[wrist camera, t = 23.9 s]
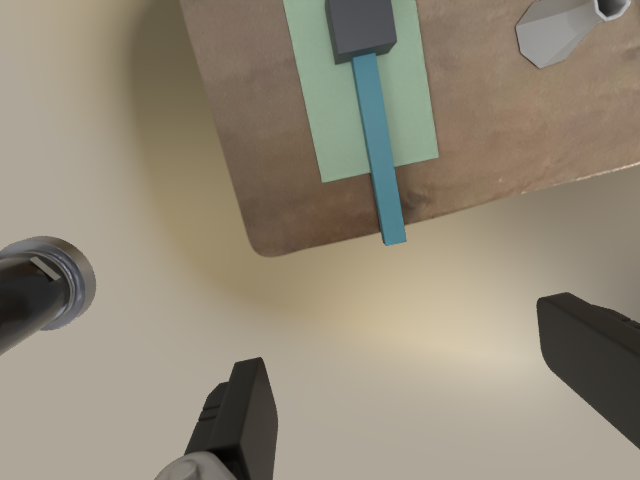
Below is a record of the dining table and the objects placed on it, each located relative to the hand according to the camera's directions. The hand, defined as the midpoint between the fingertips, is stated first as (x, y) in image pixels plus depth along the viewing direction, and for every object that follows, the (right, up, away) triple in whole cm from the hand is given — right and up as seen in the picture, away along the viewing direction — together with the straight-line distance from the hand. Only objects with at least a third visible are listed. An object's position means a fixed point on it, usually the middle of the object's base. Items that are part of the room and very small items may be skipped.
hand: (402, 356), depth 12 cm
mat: (+2, +22, +34) cm, 41 cm away
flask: (+23, +26, +34) cm, 49 cm away
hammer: (+4, +17, +35) cm, 39 cm away
